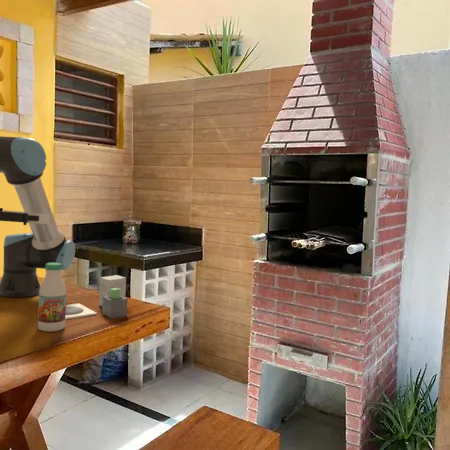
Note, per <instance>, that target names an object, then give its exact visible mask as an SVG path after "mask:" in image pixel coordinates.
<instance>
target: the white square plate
mask: <svg viewBox="0 0 450 450" xmlns="http://www.w3.org/2000/svg"><path fill="white" fill-rule="evenodd" d="M96 315H98V313H97V312H96V311H94V310H92V309H90V308H88V307H86V306H85V305H83V304H81V303H80V302H79V303H72V304H66V313H65V321H67V320H72V319H79V318H83V317H91V316H96Z"/></svg>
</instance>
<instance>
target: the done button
mask: <svg viewBox="0 0 450 450" xmlns="http://www.w3.org/2000/svg"><path fill="white" fill-rule="evenodd" d="M110 299H112V300H116V299H121V289H120V288H111V289H110Z"/></svg>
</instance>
